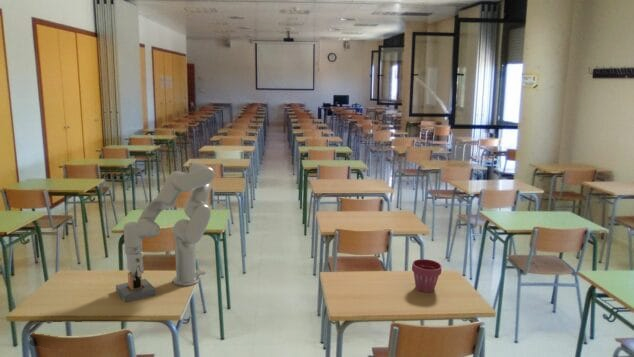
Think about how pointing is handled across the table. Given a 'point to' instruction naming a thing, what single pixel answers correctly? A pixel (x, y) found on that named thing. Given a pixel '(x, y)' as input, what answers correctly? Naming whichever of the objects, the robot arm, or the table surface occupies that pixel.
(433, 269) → the plant pot
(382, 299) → the table surface
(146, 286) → the socket plate
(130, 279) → the plug
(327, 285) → the table surface
